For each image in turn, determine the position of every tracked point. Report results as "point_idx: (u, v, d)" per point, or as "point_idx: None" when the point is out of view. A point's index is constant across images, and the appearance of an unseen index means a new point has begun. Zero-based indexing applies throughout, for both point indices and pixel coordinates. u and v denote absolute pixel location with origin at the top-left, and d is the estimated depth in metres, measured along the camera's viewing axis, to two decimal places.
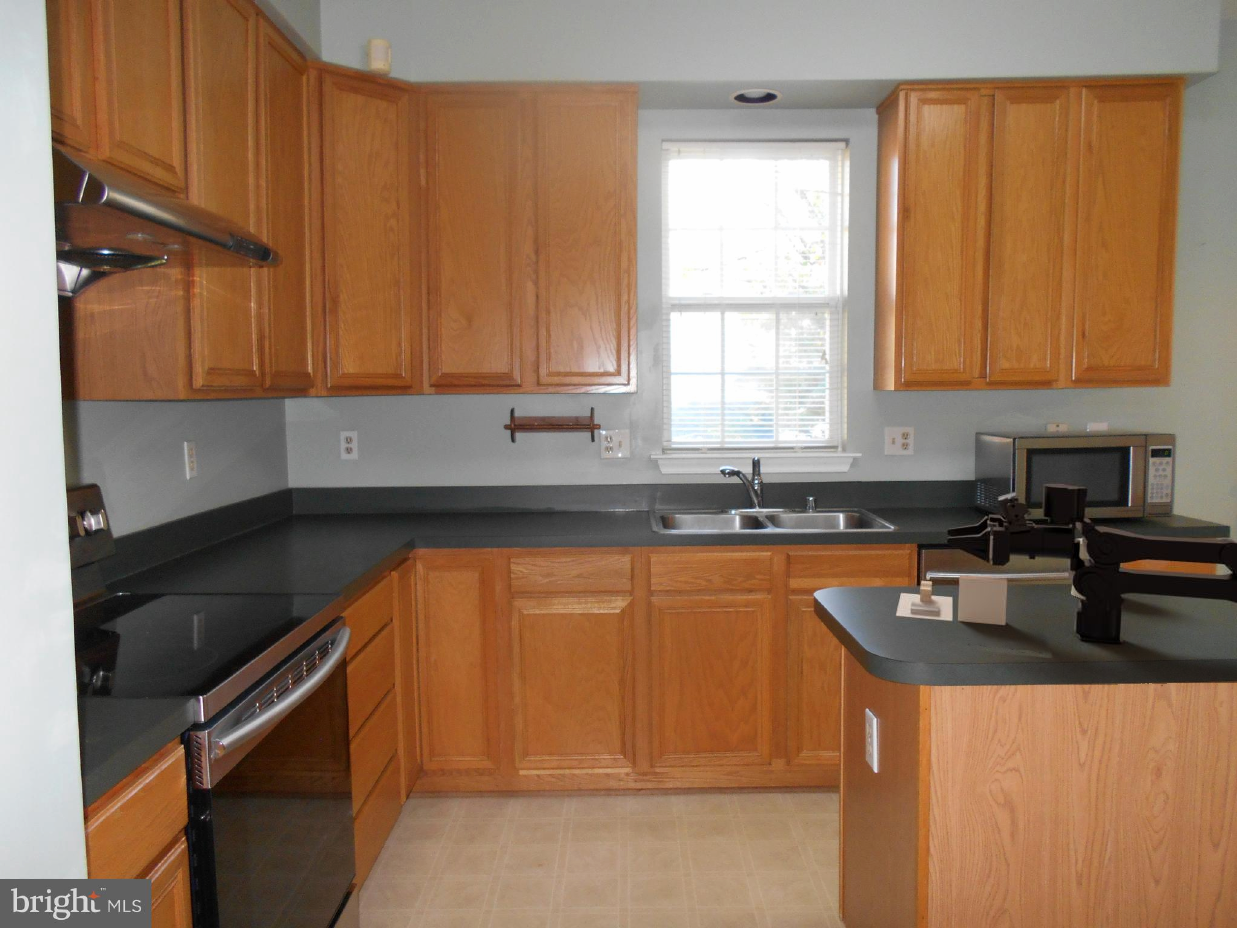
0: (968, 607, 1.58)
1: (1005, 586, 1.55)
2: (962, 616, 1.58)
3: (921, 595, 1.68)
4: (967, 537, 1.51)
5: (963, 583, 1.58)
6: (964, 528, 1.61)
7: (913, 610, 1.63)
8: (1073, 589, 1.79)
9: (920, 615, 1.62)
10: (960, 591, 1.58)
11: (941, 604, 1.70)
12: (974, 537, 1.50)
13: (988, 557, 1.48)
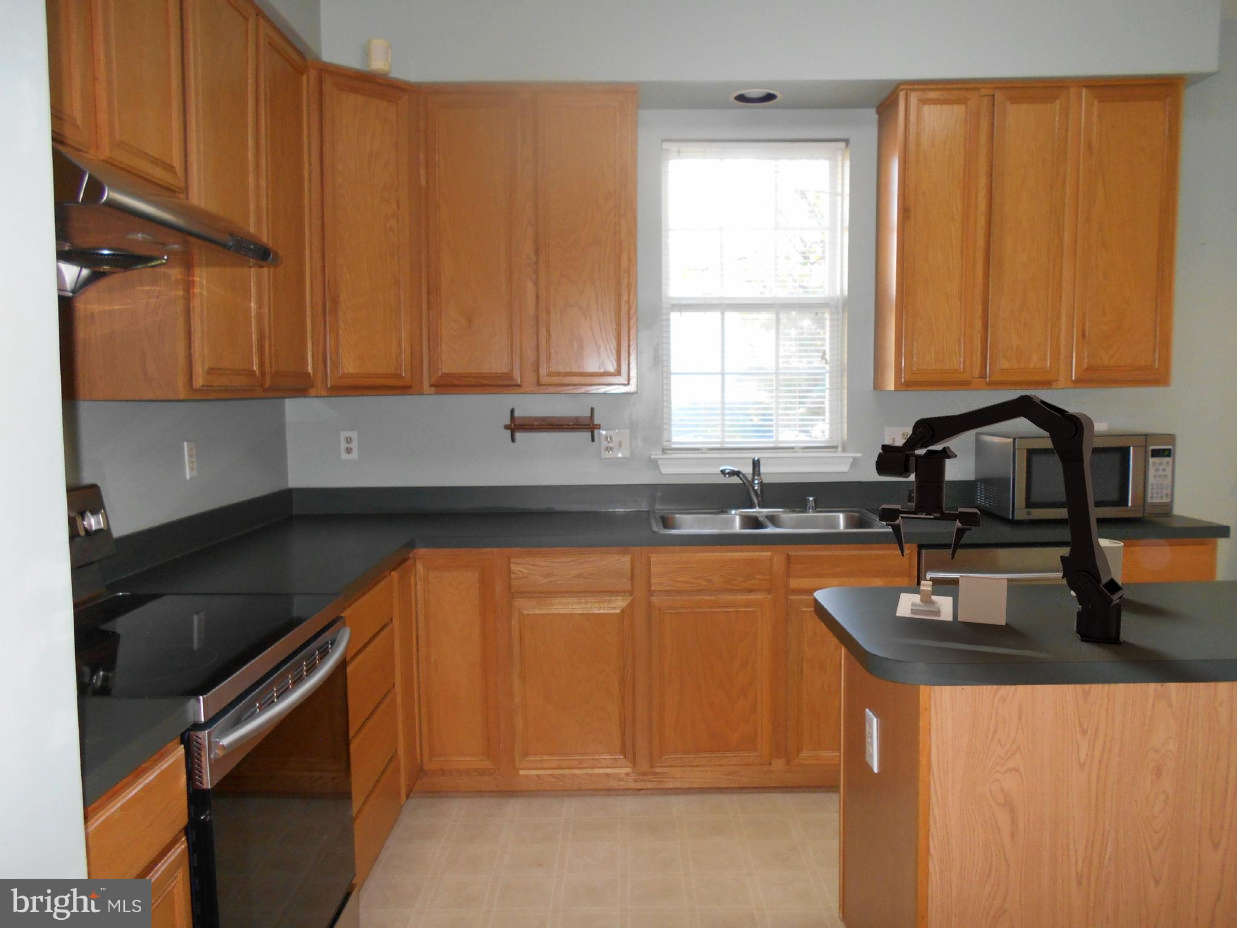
0: (968, 607, 1.58)
1: (1005, 586, 1.55)
2: (962, 616, 1.58)
3: (921, 595, 1.68)
4: None
5: (963, 583, 1.58)
6: None
7: (913, 610, 1.63)
8: None
9: (920, 615, 1.62)
10: (960, 591, 1.58)
11: (941, 604, 1.70)
12: None
13: (885, 523, 1.71)
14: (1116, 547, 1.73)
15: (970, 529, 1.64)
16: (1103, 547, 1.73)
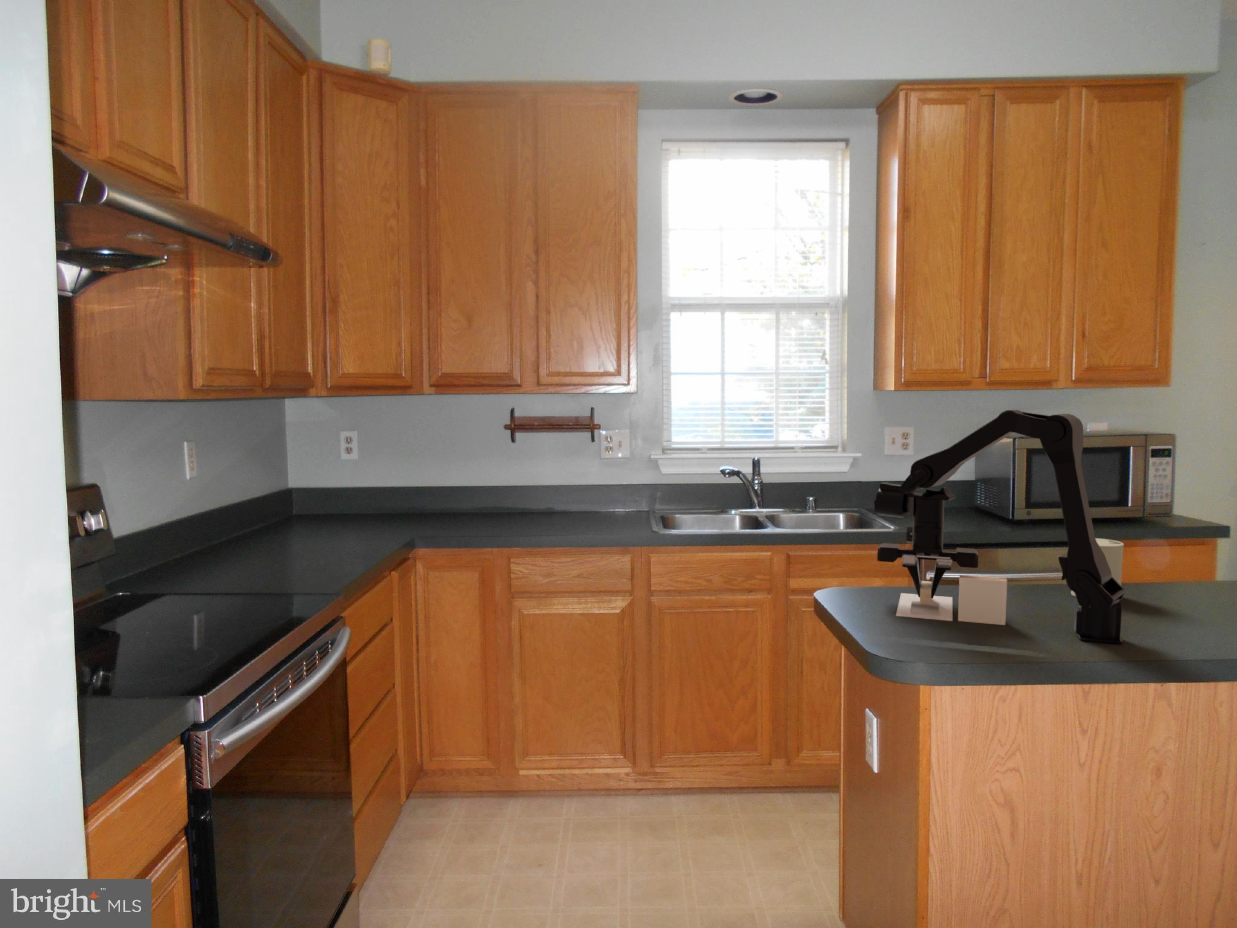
0: (968, 607, 1.58)
1: (1005, 586, 1.55)
2: (962, 616, 1.58)
3: (921, 595, 1.68)
4: None
5: (963, 583, 1.58)
6: None
7: (913, 610, 1.63)
8: None
9: (920, 615, 1.62)
10: (960, 591, 1.58)
11: (941, 604, 1.70)
12: None
13: (902, 564, 1.71)
14: (1116, 547, 1.73)
15: (949, 569, 1.67)
16: (1103, 547, 1.73)
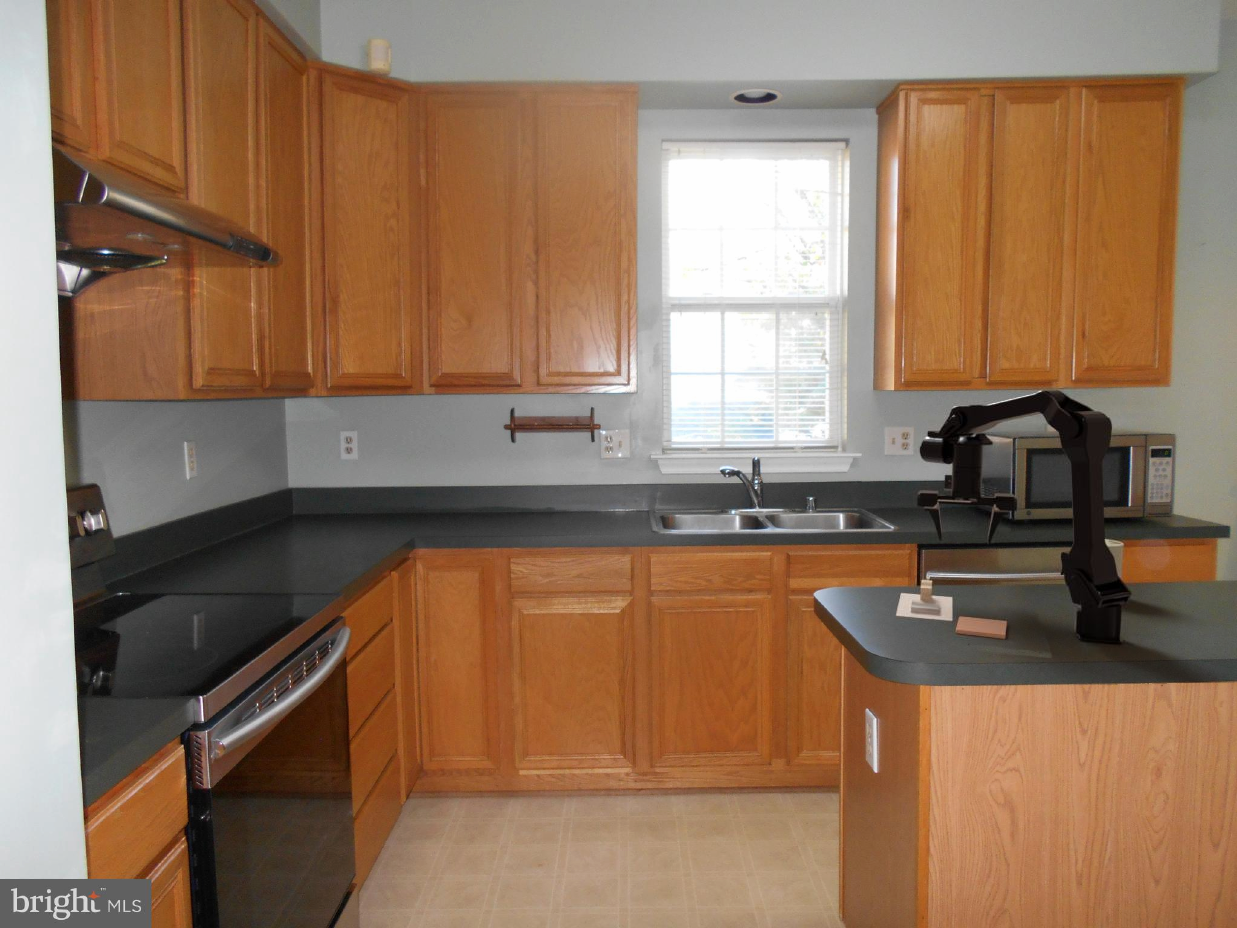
0: None
1: None
2: None
3: (921, 594, 1.69)
4: None
5: None
6: (989, 528, 1.75)
7: (914, 609, 1.64)
8: None
9: (920, 615, 1.62)
10: None
11: (941, 604, 1.70)
12: None
13: None
14: (1116, 547, 1.73)
15: (1007, 513, 1.70)
16: None
